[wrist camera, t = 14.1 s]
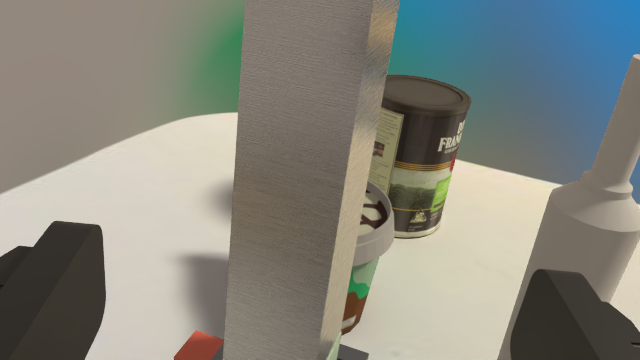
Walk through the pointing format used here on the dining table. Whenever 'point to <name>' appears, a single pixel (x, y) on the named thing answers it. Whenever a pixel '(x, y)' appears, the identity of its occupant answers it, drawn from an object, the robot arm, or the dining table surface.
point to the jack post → (302, 170)
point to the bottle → (594, 210)
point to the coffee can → (417, 149)
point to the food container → (368, 251)
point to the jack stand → (207, 351)
